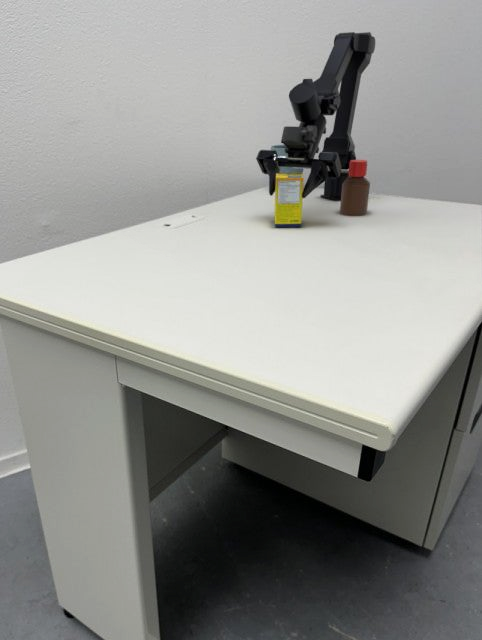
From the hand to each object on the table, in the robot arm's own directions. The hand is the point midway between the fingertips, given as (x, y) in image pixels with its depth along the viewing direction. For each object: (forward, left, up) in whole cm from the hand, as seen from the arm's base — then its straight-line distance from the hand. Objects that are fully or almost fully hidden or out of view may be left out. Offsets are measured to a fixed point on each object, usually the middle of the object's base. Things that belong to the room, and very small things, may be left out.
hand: (286, 195), depth 121 cm
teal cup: (-29, -35, -7) cm, 46 cm away
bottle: (-21, 0, -7) cm, 22 cm away
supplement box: (-1, -1, -7) cm, 7 cm away
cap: (-21, 0, +2) cm, 21 cm away
